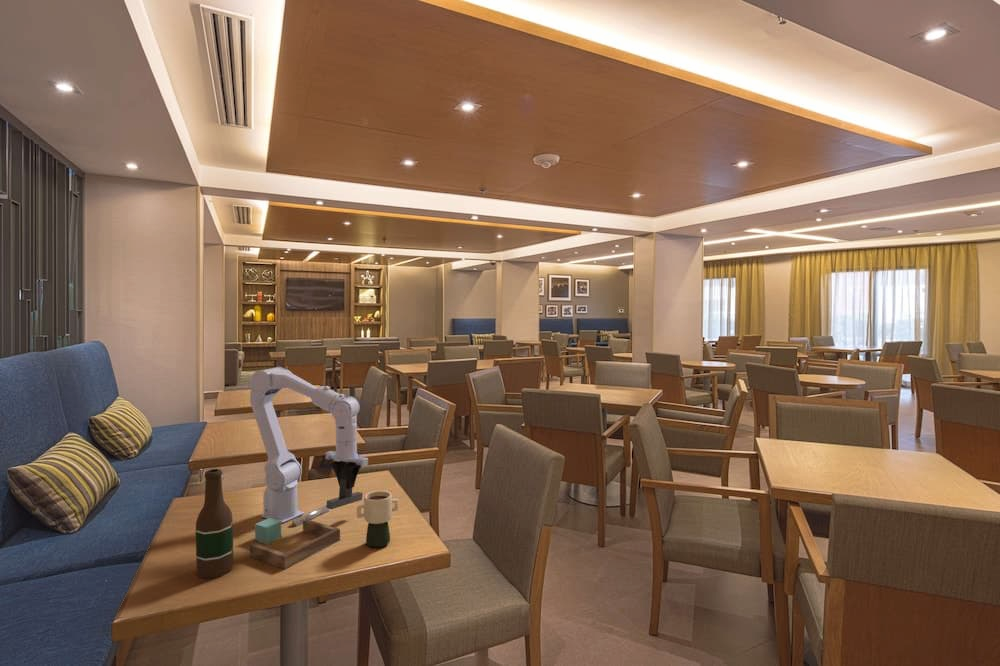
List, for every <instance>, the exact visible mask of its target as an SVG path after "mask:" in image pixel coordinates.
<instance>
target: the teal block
mask: <svg viewBox="0 0 1000 666" xmlns="http://www.w3.org/2000/svg"><path fill="white" fill-rule="evenodd" d="M254 538H255V539H254V540H255V541H256V540H257V541H256V542H259V541H260V542H259V543H262V544H266V545H268V544H269V543H272V542H274V541H276V540H279V539H280V538H282V523H281V521H278V520H275V519H272V518H268V519H267V518H265V519H264V520H261V521H259V522H257V523H255V524H254ZM278 538H279V539H278Z"/></svg>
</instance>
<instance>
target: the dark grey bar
mask: <svg viewBox="0 0 1000 666" xmlns="http://www.w3.org/2000/svg"><path fill="white" fill-rule="evenodd" d="M363 497H364V495H363V492H359V491H355V492H353V487H352V488H350V489H347V484H346V478H343V479H340V487H339V492H338V497H334V498H331V499H327V500H326V504H325V505H326V508H328V509H329V510H334V509H337V508H341V507H344V506H347V505H350V504H354V503H357V502H359V501H362V500H363Z"/></svg>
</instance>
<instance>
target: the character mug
mask: <svg viewBox="0 0 1000 666" xmlns="http://www.w3.org/2000/svg"><path fill="white" fill-rule="evenodd" d="M363 497H364V498H363V504H359V505H358V506H357V507H356V517H357V518H358V519H361V518H364V520H365V522H366V523H368V524H367V527H366V528H367V529H366V535H365V536H366V539H365V544H367V545H368V546H371V547H375V548H380V547H381V548H382V547H384V546H386V545H388V544H389V543H390V542H391V535H390V527H389V521H390V520H391V519H392V516H393V512H396V511H398V510H399V500H398V498H392V497H393V496H392V493H391V492H390V491H386V490H374V491H370V492H367V493H366V494H364V495H363ZM393 504H394V507H393ZM362 509H363V513H362Z"/></svg>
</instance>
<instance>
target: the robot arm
mask: <svg viewBox="0 0 1000 666" xmlns="http://www.w3.org/2000/svg"><path fill="white" fill-rule="evenodd" d="M247 383H248V386H249V389H250V392H249V393H250V395H249V403H250V406H251V409H252V412H253V415H254V418H255V421H256V425H257V426H258V431H259V434H260V436H261V437H260V438H261V439H262V443H263V446H264V449H265V453H266V455H267V460H266V463H265V465H264V466H263V467H264V473H265V478H264V480H265V481H264V482H265V484H266V486H267V487H266V488H265V489H264V491H263V501H262V502H263V503H262V504H263V513H262V514H261V515H260V517H261V518H264V519H268V518H272V519H275V520H278V521H281V524H283V523H286V522H288V521H291V520H294V519H296V518H298V517H300V516H303V515H305V511H302V510H299V508H298V483H299V479H300V477H302V474H303V468H302V465H301V464H300V462H299V461H298V460H297V459H296V456H295V454H293V453H292V452H290V451H289V450H288V448H287V444H286V441H285V438H284V436H283V432H282V429H281V426H280V424H279V420H278V417H277V414H276V410H275V408H274V405H273V404H274V403H273V400H274V398H275V397H276V395H277V393H278V392H280V391H281V390H282V389H289V390H291V391H293V392H296V393H298V394H301V395H303V396H305V397H308V398H310V400H311V403H312V405H315V406H316V407H318V408H321V409H323V410H325V411H326V412H329V413H330V414H331V416H332V417H333V418H334V420H335V421H334V423H335V451H334V450H333V451H332V450H330V451H326V452H325V460H333V462H332V463H330V467H331V469H332V470H333V471H334V474H335V476H336V479H337V483H338V486H339V488H340V479H343V478H346V484H347V489H350V488H352V489H353V488H354V487H355V484H356V479H357V476H358V474H359V471H360V469H361V467H366V466H368V465H369V458H368V457H365V456H363V455H361V454H358V450H357V449H358V443H357V441H358V440H357V437H358V436H357V434H358V431H357V429H358V428H357V425H358V424H357V421H358V420H357V415H358V414H359V412H360V410H361V404H360V402H359V401H358V400H357V398H355V397H354V396H352V395H351V396H345V394H344V393H338V392H336V391H334V390H332V389H331V386H328V385H326V386H325V385H324V386H323V385H321V386H319V387H316V386H315V385H313V384H312V383H310V382H308V381H306V380H304V378H301V377H299V376H298V375H295V374H294V373H292V372H291V370H289V369H285V368H283V366H275V367H271V368H267V369H260V370H256V371H254V372H253V373H252V375H251V376H250V378H249V379H248V382H247Z"/></svg>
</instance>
